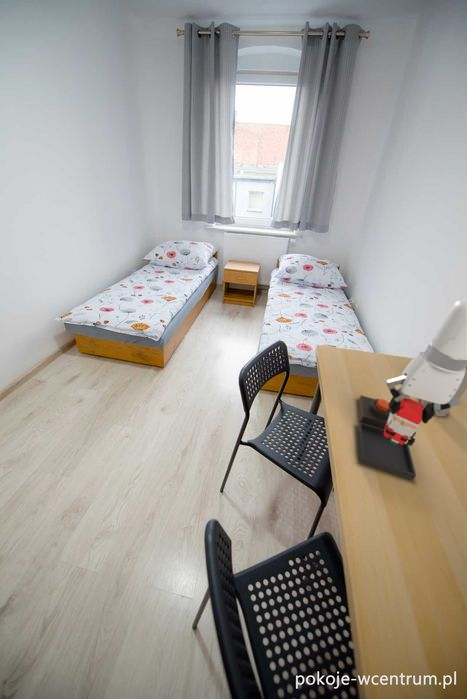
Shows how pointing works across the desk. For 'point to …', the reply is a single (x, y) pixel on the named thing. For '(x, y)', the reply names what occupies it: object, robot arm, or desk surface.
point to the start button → (382, 405)
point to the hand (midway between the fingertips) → (407, 414)
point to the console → (372, 413)
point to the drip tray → (383, 452)
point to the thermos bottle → (463, 386)
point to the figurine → (404, 422)
